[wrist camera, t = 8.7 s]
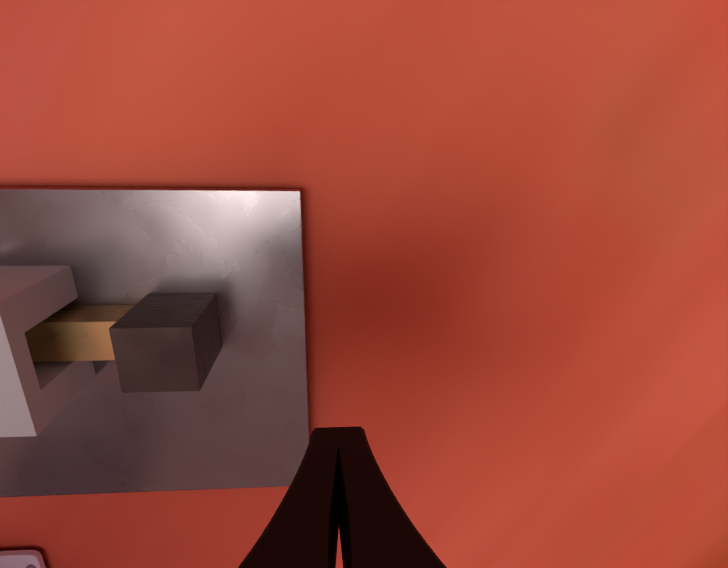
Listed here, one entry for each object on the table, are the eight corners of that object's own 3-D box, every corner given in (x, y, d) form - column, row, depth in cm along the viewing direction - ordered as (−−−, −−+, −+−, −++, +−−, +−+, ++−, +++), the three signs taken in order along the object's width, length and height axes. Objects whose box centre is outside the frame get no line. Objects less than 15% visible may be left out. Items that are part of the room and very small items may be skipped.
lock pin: (221, 348, 20) (199, 390, 17) (-25, 352, 19) (-97, 398, 16) (215, 293, 19) (191, 327, 16) (-43, 295, 19) (-125, 331, 15)
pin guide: (95, 375, 20) (36, 436, 16) (7, 377, 20) (-75, 439, 16) (70, 265, 18) (-4, 303, 14) (-27, 266, 18) (-131, 305, 14)
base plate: (311, 471, 24) (310, 485, 23) (-180, 489, 23) (-202, 504, 22) (301, 188, 19) (299, 191, 18) (-346, 183, 17) (-385, 186, 16)
